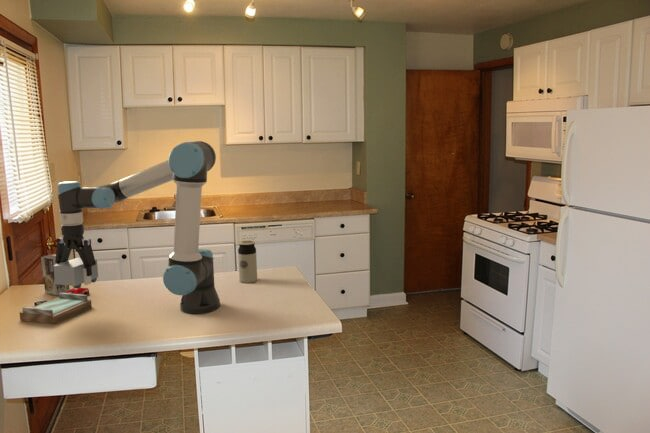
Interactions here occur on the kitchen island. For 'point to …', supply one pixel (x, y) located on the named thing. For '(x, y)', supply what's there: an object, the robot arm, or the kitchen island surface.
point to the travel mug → (247, 261)
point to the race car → (79, 291)
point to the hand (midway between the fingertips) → (77, 283)
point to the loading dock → (56, 309)
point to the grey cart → (72, 273)
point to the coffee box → (51, 276)
